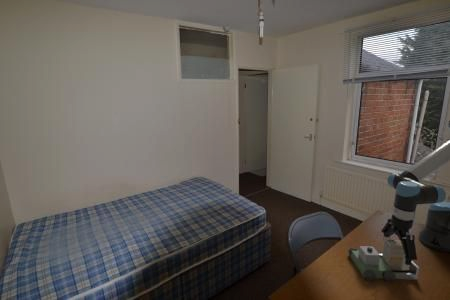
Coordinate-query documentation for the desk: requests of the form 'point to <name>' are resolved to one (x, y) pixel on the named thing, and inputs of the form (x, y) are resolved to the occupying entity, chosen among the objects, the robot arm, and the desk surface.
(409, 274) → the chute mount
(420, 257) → the desk surface
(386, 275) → the toy wooden truck
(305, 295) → the desk surface
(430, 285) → the desk surface
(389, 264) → the supplement box
